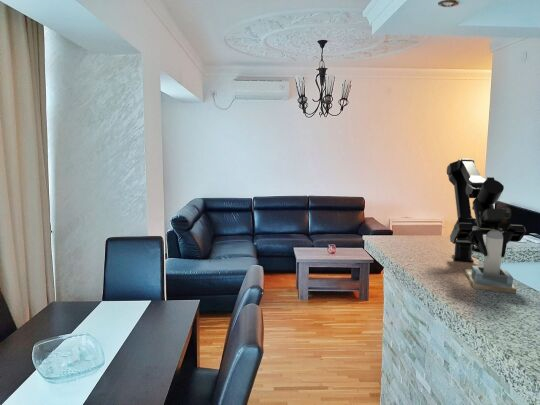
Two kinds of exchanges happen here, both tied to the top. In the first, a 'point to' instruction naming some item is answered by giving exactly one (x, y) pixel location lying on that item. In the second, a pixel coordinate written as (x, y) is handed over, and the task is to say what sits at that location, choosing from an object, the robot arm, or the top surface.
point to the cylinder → (493, 252)
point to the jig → (490, 280)
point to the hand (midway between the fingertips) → (494, 256)
